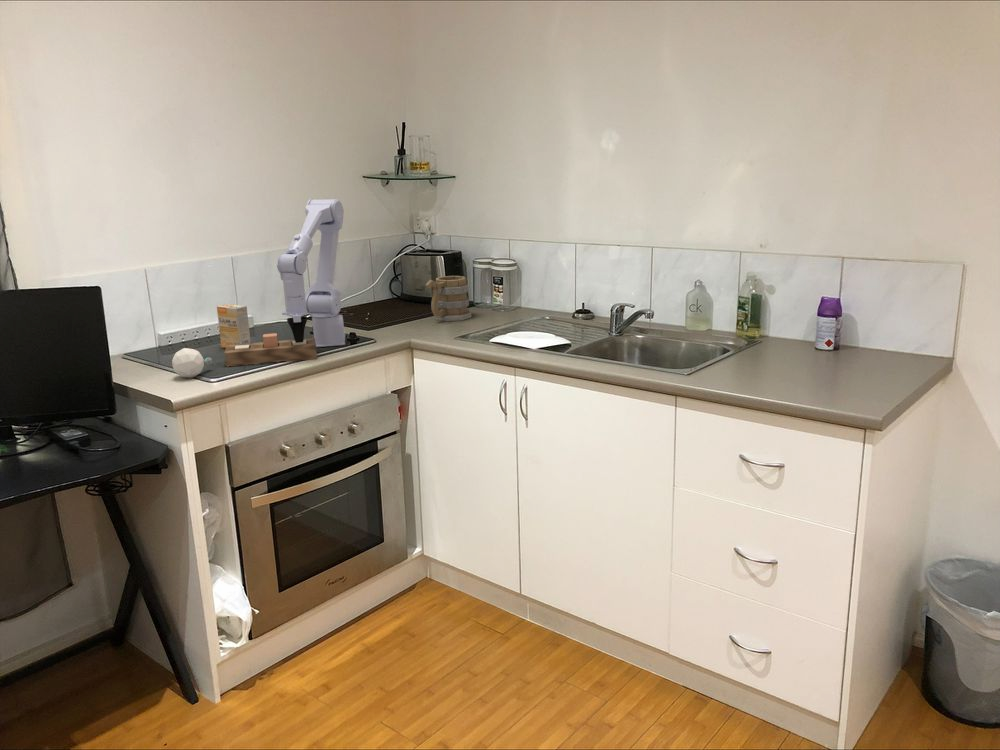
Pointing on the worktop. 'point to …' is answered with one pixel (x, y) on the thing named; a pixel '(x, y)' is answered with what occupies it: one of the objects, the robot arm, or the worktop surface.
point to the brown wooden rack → (270, 353)
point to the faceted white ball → (189, 362)
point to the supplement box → (233, 324)
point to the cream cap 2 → (299, 342)
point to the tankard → (449, 298)
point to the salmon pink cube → (270, 340)
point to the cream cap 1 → (242, 347)
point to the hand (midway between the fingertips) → (299, 342)
